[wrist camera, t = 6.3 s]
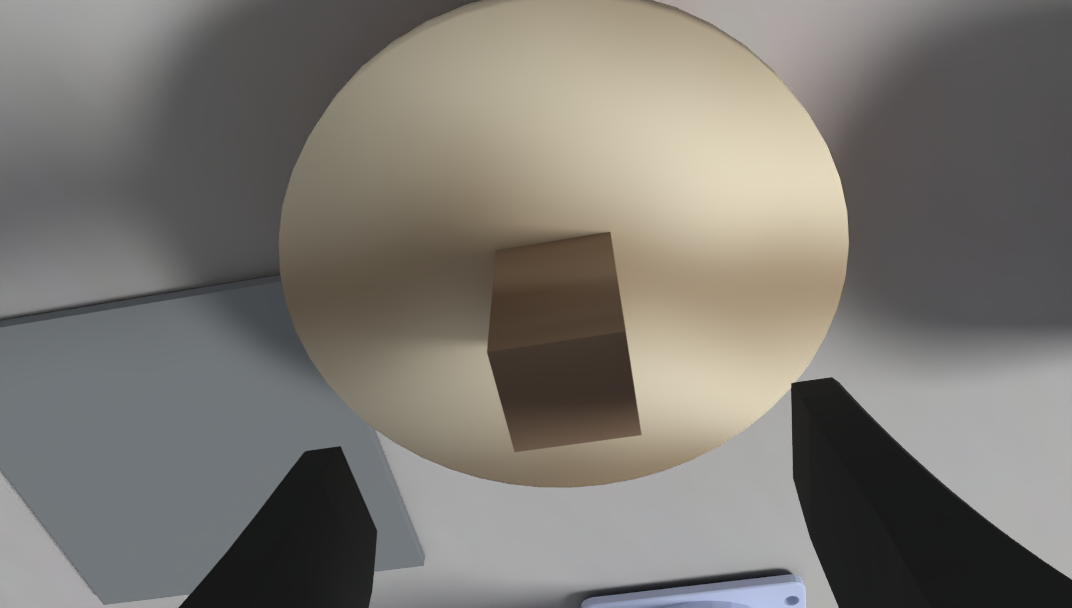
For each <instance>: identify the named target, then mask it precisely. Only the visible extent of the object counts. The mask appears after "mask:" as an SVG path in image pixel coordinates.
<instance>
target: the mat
mask: <svg viewBox="0 0 1072 608" xmlns="http://www.w3.org/2000/svg"><path fill="white" fill-rule="evenodd" d="M338 446H341V448H342V450H343V453H344V455H345V457H346V460H347V462H348V464H349V467H350V469H351V471H352V474H353V476H354V478H355V480H356V483H357V485H358V487H359V490H360V492H361V494H362V497H363V499H364V501H365V504H366V506H367V508H368V511H369V513H370V515H371V517H372V520H373V522H374V524H375V527H376V529H377V542H376V555H375V567H374V572H375V571H384V570H392V569H400V568H408V567H416V566H424V559H425V555H424V553H423V550H422V548H421V545H420V543H419V540H418V538H417V535H416V533H415V530H414V528H413V525H412V523H411V520H410V517H409V515H408V512H407V510H406V507H405V505H404V502H403V500H402V497H401V495H400V492H399V490H398V487H397V485H396V482H395V480H394V477H393V475H392V472H391V470H390V467H389V465H388V462H387V460H386V457H385V455H384V452H383V450H382V447H381V445H380V442H379V440H378V437H377V435H376V432H375V430H374V428H373V427H372V426H370V425H369V424H368V423H367V422H366V421H364V420H363V419H362V418H361V417H360V416H359V415H357V414H356V413H355V412H354V411H353V410H352V409H351V408H349V407H348V406H347V405H346V404H345V402H344V401H343V400H342V399H341V398H340V397H339V396H338V395H337V394H336V393H335V391H334V390H333V389H332V388H331V387H330V386H329V385H328V384H327V382H326V381H325V379H324V378H323V377H322V375H321V374H320V372H319V371H318V369H317V368H316V367H315V365H314V364H313V362H312V361H311V359H310V358H309V356H308V354H307V352H306V350H305V348H304V346H303V344H302V342H301V340H300V338H299V336H298V334H297V333H296V330H295V328H294V325H293V322H292V319H291V316H290V313H289V310H288V307H287V305H286V302H285V296H284V291H283V286H282V281H281V275H275V276H269V277H263V278H257V279H251V280H245V281H239V282H233V283H227V284H220V285H214V286H208V287H202V288H196V289H190V290H184V291H178V292H172V293H166V294H160V295H153V296H147V297H141V298H135V299H129V300H123V301H117V302H111V303H105V304H99V305H93V306H87V307H80V308H74V309H68V310H62V311H56V312H50V313H44V314H38V315H32V316H26V317H20V318H14V319H7V320H1V321H0V470H1V471H2V472H3V473H4V475H5V476H6V477H7V479H8V480H9V481H10V483H11V484H12V485H13V487H14V488H15V489H16V491H17V492H18V493H19V494H20V496H21V497H22V498H23V500H24V501H25V502H26V504H27V505H28V506H29V508H30V509H31V510H32V511H33V513H34V514H35V515H36V517H37V518H38V519H39V521H40V522H41V523H42V525H43V526H44V527H45V529H46V530H47V531H48V532H49V534H50V535H51V536H52V538H53V539H54V540H55V542H56V543H57V544H58V546H59V547H60V548H61V549H62V551H63V552H64V553H65V555H66V556H67V557H68V559H69V560H70V561H71V563H72V564H73V565H74V567H75V568H76V569H77V570H78V572H79V573H80V574H81V576H82V577H83V578H84V580H85V581H86V582H87V584H88V585H89V586H90V587H91V589H92V590H93V591H94V593H95V594H96V595H97V597H98V598H99V599H100V601H101V602H102V603H103V605H106V604H115V603H123V602H131V601H139V600H147V599H155V598H163V597H172V596H180V595H188V594H191V593H192V592H193V591H194V589H195V588H196V587H197V586H198V585H199V584H200V582H201V581H202V580H203V579H204V578H205V577H206V575H207V574H208V573H209V572H210V571H211V570H212V568H213V567H214V566H215V565H216V564H217V563H218V561H219V560H220V559H221V558H222V557H223V556H224V554H225V553H226V552H227V551H228V549H229V548H230V547H231V546H232V544H233V543H234V542H235V541H236V539H237V538H238V537H239V536H240V534H241V533H242V532H243V530H244V529H245V528H246V527H247V525H248V524H249V523H250V522H251V520H252V519H253V518H254V517H255V515H256V514H257V513H258V511H259V510H260V509H261V507H262V506H263V505H264V504H265V502H266V501H267V500H268V498H269V497H270V496H271V494H272V493H273V492H274V490H275V489H276V488H277V486H278V485H279V484H280V483H281V481H282V480H283V479H284V477H285V476H286V475H287V473H288V472H289V471H290V469H291V468H292V467H293V466H294V464H295V463H296V462H297V460H298V459H299V458H300V457H301V455H302V454H303V453H304V452H305V451H309V450H316V449H323V448H330V447H338Z"/></svg>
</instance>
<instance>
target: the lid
mask: <svg viewBox="0 0 1072 608" xmlns="http://www.w3.org/2000/svg"><path fill="white" fill-rule="evenodd" d="M278 240H279V268H280V275H281V281H282V286H283V291H284V296H285V302H286V305H287V307H288V310H289V313H290V316H291V319H292V322H293V325H294V328H295V330H296V333H297V334H298V336H299V338H300V340H301V342H302V344H303V346H304V348H305V350H306V352H307V354H308V356H309V358H310V359H311V361H312V362H313V364H314V365H315V367H316V368H317V369H318V371H319V372H320V374H321V375H322V377H323V378H324V379H325V381H326V382H327V384H328V385H329V386H330V387H331V388H332V389H333V390H334V391H335V393H336V394H337V395H338V396H339V397H340V398H341V399H342V400H343V401H344V402H345V404H346V405H347V406H348V407H349V408H351V409H352V410H353V411H354V412H355V413H356V414H357V415H359V416H360V417H361V418H362V419H363V420H364V421H366V422H367V423H368V424H369V425H370V426H372V427H373V428H374V429H376V430H377V431H379V432H380V433H382V434H383V435H385V436H386V437H387V438H389V439H390V440H392V441H393V442H395V443H396V444H398V445H400V446H402V447H404V448H406V449H407V450H409V451H411V452H413V453H415V454H417V455H419V456H420V457H422V458H425V459H427V460H430V461H432V462H434V463H437V464H439V465H442V466H444V467H446V468H449V469H452V470H455V471H458V472H462V473H465V474H468V475H471V476H475V477H478V478H482V479H487V480H492V481H497V482H502V483H507V484H515V485H524V486H534V487H583V486H595V485H604V484H610V483H615V482H621V481H627V480H632V479H636V478H640V477H643V476H647V475H650V474H654V473H658V472H661V471H664V470H667V469H669V468H672V467H674V466H677V465H680V464H682V463H685V462H688V461H690V460H692V459H694V458H696V457H698V456H700V455H702V454H704V453H706V452H708V451H710V450H712V449H714V448H716V447H718V446H720V445H721V444H723V443H725V442H726V441H728V440H729V439H731V438H732V437H734V436H735V435H737V434H739V433H740V432H742V431H743V430H745V429H746V428H747V427H749V426H750V425H751V424H752V423H754V422H755V421H756V420H757V419H759V418H760V417H761V416H762V415H763V414H765V413H766V412H767V411H768V410H770V409H771V408H772V406H773V405H774V404H775V403H776V402H777V401H778V400H779V399H780V398H781V397H782V396H783V395H784V394H785V393H786V392H787V391H788V390H789V389H790V388H791V383H795V382H796V381H797V379H798V378H799V377H800V375H801V374H802V373H803V372H804V370H805V369H806V368H807V366H808V365H809V364H810V362H811V361H812V359H813V357H814V355H815V354H816V352H817V350H818V349H819V347H820V345H821V343H822V342H823V340H824V338H825V337H826V334H827V332H828V330H829V327H830V325H831V322H832V320H833V318H834V315H835V313H836V310H837V308H838V304H839V301H840V297H841V293H842V289H843V285H844V281H845V277H846V268H847V259H848V249H849V236H848V217H847V208H846V204H845V199H844V194H843V190H842V185H841V180H840V177H839V174H838V172H837V169H836V167H835V164H834V162H833V159H832V157H831V154H830V151H829V149H828V146H827V144H826V143H825V141H824V139H823V138H822V136H821V134H820V133H819V131H818V129H817V128H816V126H815V124H814V122H813V121H812V119H811V117H810V116H809V114H808V113H807V111H806V110H805V109H804V107H803V106H802V105H801V103H800V102H799V101H798V99H797V98H796V97H795V96H794V95H793V93H792V92H791V91H790V90H789V89H788V87H787V86H786V85H785V84H784V83H783V81H782V80H781V79H780V78H779V76H778V75H777V74H776V73H775V72H774V71H773V70H772V69H771V68H770V67H769V66H768V65H767V64H765V63H764V62H763V61H762V60H761V59H760V58H759V57H758V56H756V55H755V54H754V53H753V52H752V51H751V50H750V49H749V48H747V47H746V46H745V45H743V44H742V43H740V42H739V41H737V40H736V39H734V38H733V37H731V36H730V35H728V34H727V33H725V32H724V31H722V30H720V29H719V28H717V27H716V26H714V25H713V24H711V23H709V22H706V21H704V20H702V19H700V18H698V17H696V16H693V15H691V14H689V13H687V12H685V11H682V10H680V9H678V8H676V7H673V6H670V5H666V4H663V3H660V2H656V1H653V0H481V1H477V2H473V3H469V4H466V5H463V6H461V7H458V8H456V9H454V10H451V11H449V12H447V13H444V14H442V15H439V16H437V17H435V18H432V19H430V20H428V21H426V22H424V23H422V24H421V25H419V26H417V27H416V28H414V29H412V30H411V31H409V32H407V33H406V34H404V35H402V36H401V37H399V38H397V39H396V40H394V41H392V42H391V43H390V44H389V45H387V46H386V47H385V48H384V49H383V50H381V51H380V52H379V53H378V54H376V55H375V56H374V57H373V58H372V59H370V60H369V61H368V62H367V63H365V64H364V65H363V66H362V67H361V68H360V69H359V70H358V71H357V72H356V73H355V74H354V76H353V77H352V78H351V79H350V80H349V81H348V82H347V83H346V84H345V85H344V87H343V88H342V89H341V90H340V91H339V92H338V93H337V94H336V96H335V97H334V99H333V100H332V102H331V103H330V105H329V106H328V108H327V109H326V111H325V112H324V114H323V115H322V117H321V118H320V120H319V121H318V123H317V124H316V126H315V127H314V129H313V131H312V132H311V134H310V136H309V137H308V139H307V141H306V143H305V145H304V147H303V149H302V152H301V154H300V156H299V158H298V160H297V162H296V165H295V167H294V169H293V171H292V174H291V177H290V181H289V184H288V188H287V191H286V195H285V198H284V202H283V205H282V213H281V221H280V230H279V238H278Z"/></svg>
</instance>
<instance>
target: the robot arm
mask: <svg viewBox="0 0 1072 608" xmlns="http://www.w3.org/2000/svg"><path fill="white" fill-rule="evenodd" d="M791 400H792V446H793V479H794V482H795V486H796V490H797V493H798V497H799V501H800V504H801V508H802V511H803V515H804V518H805V522H806V525H807V528H808V532H809V535H810V538H811V541H812V543H813V546H814V548H815V551H816V553H817V556H818V558H819V561H820V563H821V565H822V568H823V570H824V573H825V575H826V578H827V580H828V582H829V585H830V587H831V590H832V592H833V594H834V597H835V599H836V602H837V604H838V606H839V608H1072V580H1071V579H1070V578H1068V577H1067V576H1065V575H1064V574H1062V573H1061V572H1059V571H1058V570H1056V569H1055V568H1053V567H1052V566H1050V565H1049V564H1047V563H1046V562H1044V561H1043V560H1041V559H1040V558H1038V557H1037V556H1036V555H1034V554H1033V553H1031V552H1030V551H1029V550H1027V549H1026V548H1024V547H1023V546H1022V545H1020V544H1019V543H1017V542H1016V541H1014V540H1013V539H1012V538H1010V537H1009V536H1008V535H1006V534H1005V533H1004V532H1002V531H1001V530H1000V529H998V528H997V527H996V526H994V525H993V524H992V523H991V522H989V521H988V520H987V519H985V518H984V517H983V516H982V515H980V514H979V513H978V512H977V511H975V510H974V509H973V508H972V507H970V506H969V505H968V504H967V503H966V502H964V501H963V500H962V499H961V498H959V497H958V496H957V495H956V494H955V493H953V492H952V491H951V490H950V489H949V488H947V487H946V486H945V485H944V484H943V483H942V482H940V481H939V480H938V479H937V478H936V477H935V476H934V475H932V474H931V473H930V472H929V471H928V470H927V469H926V468H925V467H924V466H923V465H921V464H920V463H919V462H918V461H917V460H916V459H915V458H914V457H913V456H912V455H910V454H909V453H908V452H907V451H906V450H905V449H904V448H903V447H902V446H901V445H900V444H899V443H898V442H897V441H895V440H894V439H893V438H892V437H891V436H890V435H889V434H888V433H887V432H886V431H885V430H884V429H883V428H882V427H881V426H880V425H879V424H878V423H877V422H876V421H875V420H874V419H873V418H872V417H871V416H870V415H869V414H868V413H867V412H866V411H865V410H864V409H863V408H862V407H861V406H860V404H859V403H858V402H857V401H856V400H855V399H854V398H853V397H852V396H851V395H850V394H849V393H848V392H847V391H846V390H845V388H844V387H843V386H842V385H841V384H840V383H839V382H838V381H836V380H835V379H833V378H832V377H831V378H824V379H817V380H809V381H802V382H795V383H791ZM376 542H377V529H376V527H375V524H374V522H373V520H372V517H371V515H370V513H369V511H368V508H367V506H366V504H365V501H364V499H363V497H362V494H361V492H360V490H359V487H358V485H357V483H356V480H355V478H354V476H353V474H352V471H351V469H350V467H349V464H348V462H347V460H346V457H345V455H344V453H343V450H342V448H341V446H338V447H330V448H323V449H316V450H309V451H305V452H304V453H303V454H302V455H301V457H300V458H299V459H298V460H297V462H296V463H295V464H294V466H293V467H292V468H291V469H290V471H289V472H288V473H287V475H286V476H285V477H284V479H283V480H282V481H281V483H280V484H279V485H278V486H277V488H276V489H275V490H274V492H273V493H272V494H271V496H270V497H269V498H268V500H267V501H266V502H265V504H264V505H263V506H262V507H261V509H260V510H259V511H258V513H257V514H256V515H255V517H254V518H253V519H252V520H251V522H250V523H249V524H248V525H247V527H246V528H245V529H244V530H243V532H242V533H241V534H240V536H239V537H238V538H237V539H236V541H235V542H234V543H233V544H232V546H231V547H230V548H229V549H228V551H227V552H226V553H225V554H224V556H223V557H222V558H221V559H220V560H219V561H218V563H217V564H216V565H215V566H214V567H213V568H212V570H211V571H210V572H209V573H208V574H207V575H206V577H205V578H204V579H203V580H202V581H201V582H200V584H199V585H198V586H197V587H196V588H195V589H194V591H193V592H192V593H191V594H190V595H189V596H188V598H187V599H186V600H185V601H184V602H183V603H182V605H181V606H180V607H179V608H368V607H369V603H370V598H371V593H372V586H373V576H374V567H375V555H376ZM581 608H806V589H805V586H804V583H803V580H802V578H801V577H799V576H797V575H780V576H771V577H763V578H754V579H745V580H737V581H728V582H720V583H711V584H702V585H694V586H685V587H676V588H668V589H659V590H651V591H642V592H633V593H625V594H616V595H607V596H599V597H592V598H588V599H586V600H585V601H583V603H582V604H581Z"/></svg>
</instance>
